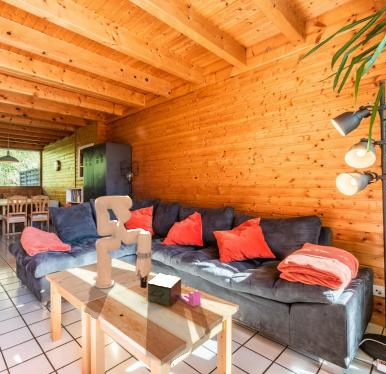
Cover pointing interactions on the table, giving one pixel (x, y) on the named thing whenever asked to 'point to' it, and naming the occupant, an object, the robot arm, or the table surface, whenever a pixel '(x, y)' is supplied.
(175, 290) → the cabinet
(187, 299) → the bracket
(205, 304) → the table surface
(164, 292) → the drawer
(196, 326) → the table surface
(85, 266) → the table surface
